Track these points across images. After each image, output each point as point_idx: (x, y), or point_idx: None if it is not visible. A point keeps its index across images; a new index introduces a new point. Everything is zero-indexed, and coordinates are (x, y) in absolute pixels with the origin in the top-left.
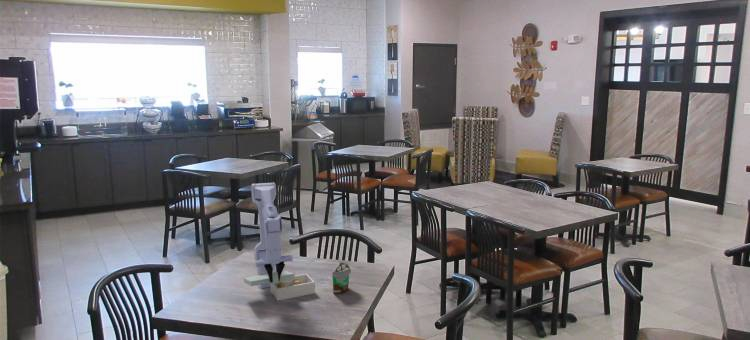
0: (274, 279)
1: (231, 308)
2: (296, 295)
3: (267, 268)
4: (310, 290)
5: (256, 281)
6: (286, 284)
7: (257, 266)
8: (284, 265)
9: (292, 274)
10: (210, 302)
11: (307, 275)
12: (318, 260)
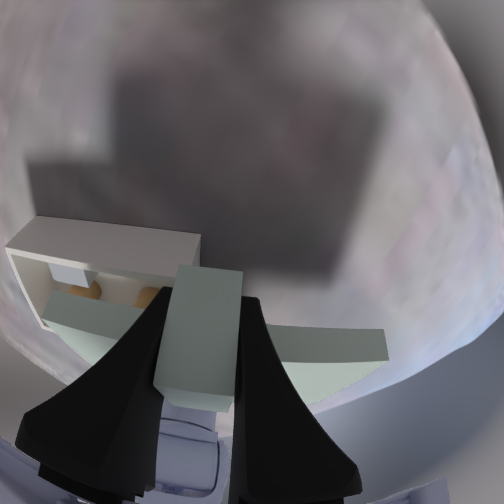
0: (218, 311)
1: (406, 271)
2: (100, 226)
3: (357, 486)
4: (40, 226)
5: (349, 355)
6: None
7: (438, 487)
8: (19, 432)
9: (51, 318)
10: (411, 334)
11: (36, 315)
12: (49, 369)
